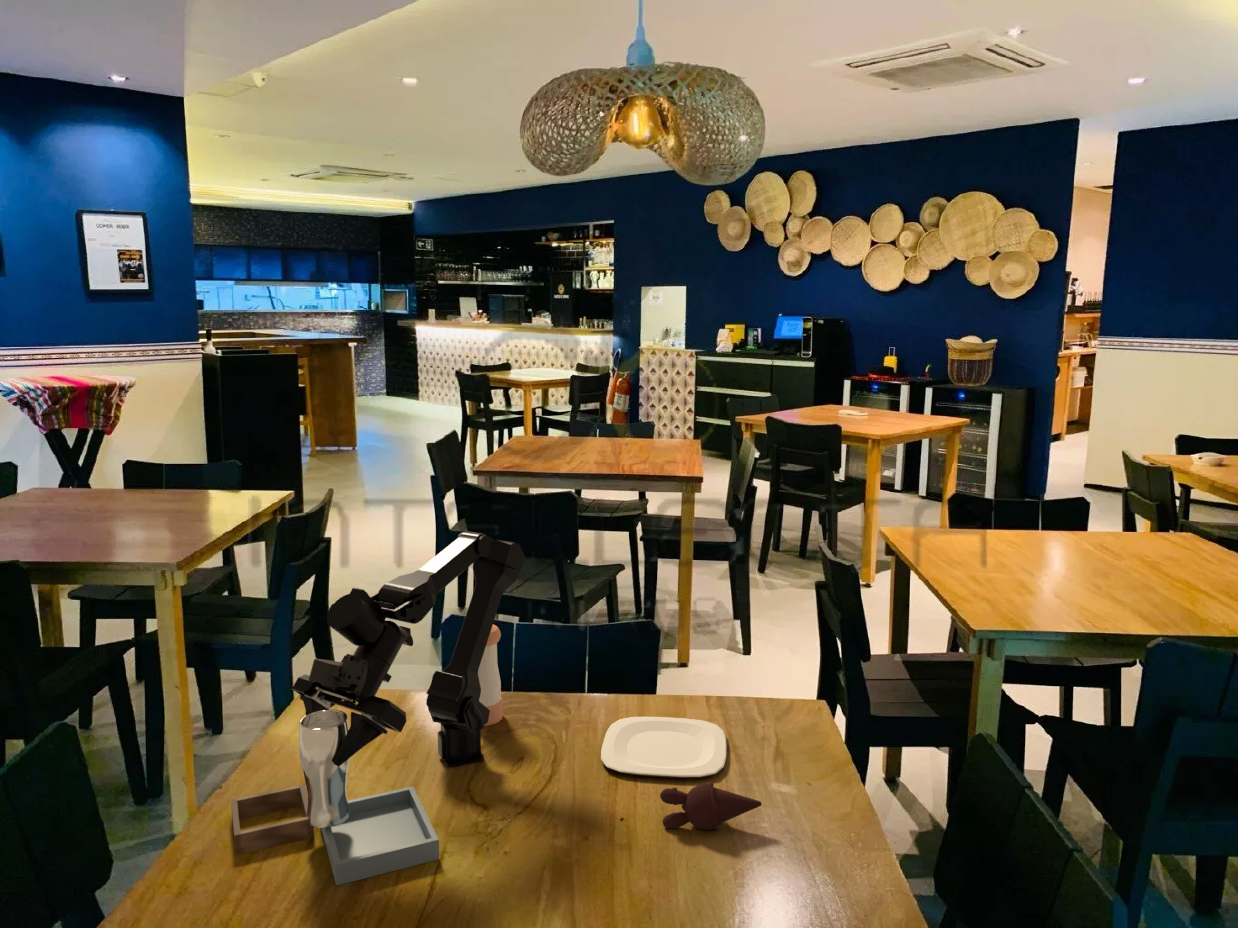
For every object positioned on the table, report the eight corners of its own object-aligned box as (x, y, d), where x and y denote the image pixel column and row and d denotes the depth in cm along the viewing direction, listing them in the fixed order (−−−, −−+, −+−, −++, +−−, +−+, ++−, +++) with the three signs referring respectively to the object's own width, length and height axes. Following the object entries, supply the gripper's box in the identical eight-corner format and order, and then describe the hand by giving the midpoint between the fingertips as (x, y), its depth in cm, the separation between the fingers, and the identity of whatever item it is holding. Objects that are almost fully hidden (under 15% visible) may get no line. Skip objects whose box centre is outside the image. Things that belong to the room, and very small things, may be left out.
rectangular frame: (305, 801, 141) (304, 784, 140) (314, 836, 131) (313, 817, 131) (232, 817, 136) (231, 799, 136) (235, 855, 127) (234, 835, 126)
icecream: (756, 772, 138) (659, 779, 138) (761, 785, 130) (658, 792, 131) (760, 819, 137) (662, 825, 138) (766, 835, 130) (662, 841, 130)
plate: (594, 779, 149) (594, 770, 148) (610, 721, 170) (611, 713, 170) (726, 787, 146) (726, 778, 146) (726, 728, 168) (726, 719, 167)
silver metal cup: (349, 827, 127) (344, 728, 125) (298, 831, 126) (292, 731, 124) (356, 802, 134) (352, 707, 131) (308, 805, 133) (303, 710, 130)
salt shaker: (470, 729, 166) (467, 630, 163) (460, 713, 172) (457, 617, 169) (507, 721, 169) (506, 624, 166) (496, 706, 175) (494, 612, 172)
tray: (413, 803, 140) (413, 786, 140) (439, 859, 126) (438, 839, 125) (320, 825, 134) (319, 806, 134) (336, 885, 120) (335, 865, 120)
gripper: (297, 623, 134) (238, 721, 126) (387, 647, 124) (329, 755, 117) (342, 655, 142) (289, 749, 134) (429, 680, 132) (377, 783, 125)
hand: (318, 758), depth 127 cm, fingers closed on silver metal cup, 7 cm apart
